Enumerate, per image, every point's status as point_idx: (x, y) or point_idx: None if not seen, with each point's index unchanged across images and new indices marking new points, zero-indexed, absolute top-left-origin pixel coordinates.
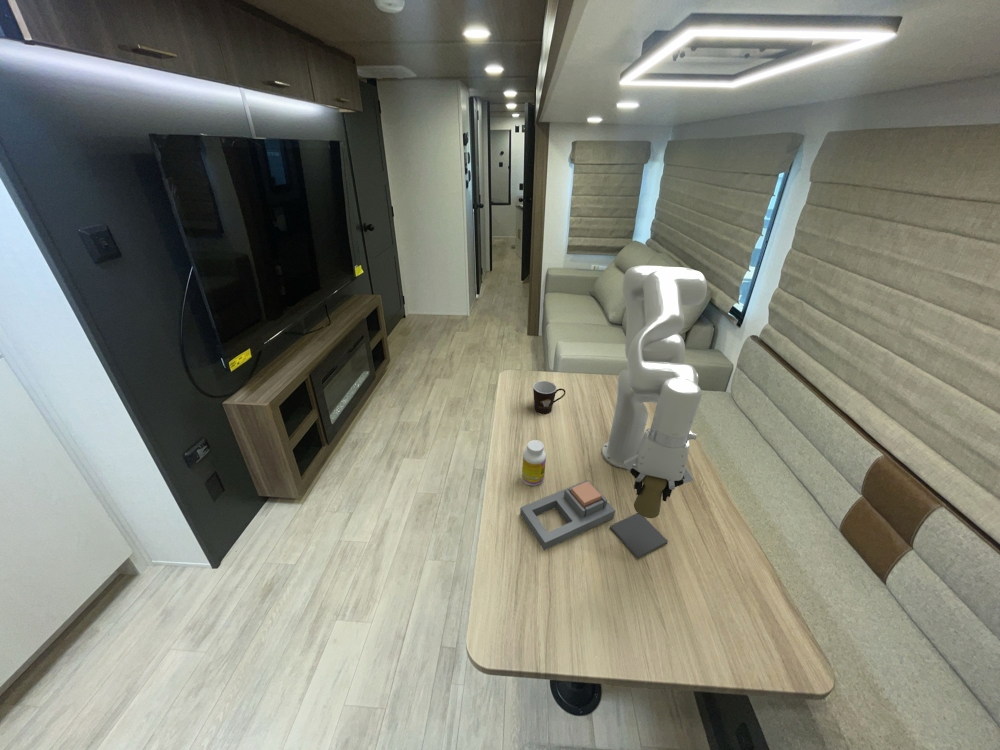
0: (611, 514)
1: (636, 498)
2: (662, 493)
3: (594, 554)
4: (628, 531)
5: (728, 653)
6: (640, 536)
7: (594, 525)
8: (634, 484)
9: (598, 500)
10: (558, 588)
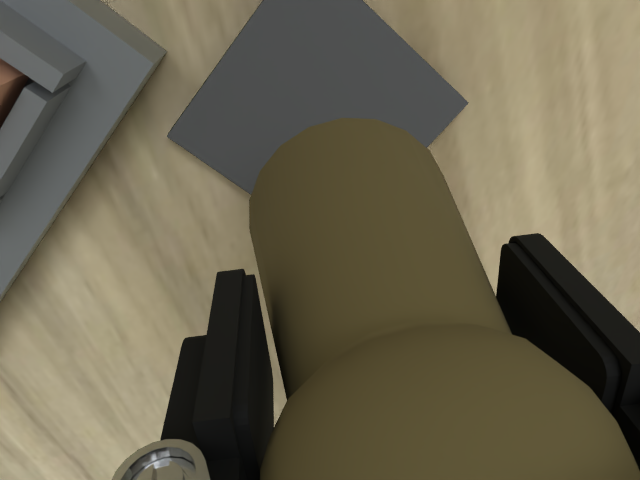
0: (143, 81)
1: (256, 242)
2: (504, 283)
3: (154, 294)
4: (266, 131)
5: None
6: None
7: (88, 167)
8: (185, 346)
9: (6, 96)
10: (93, 444)
